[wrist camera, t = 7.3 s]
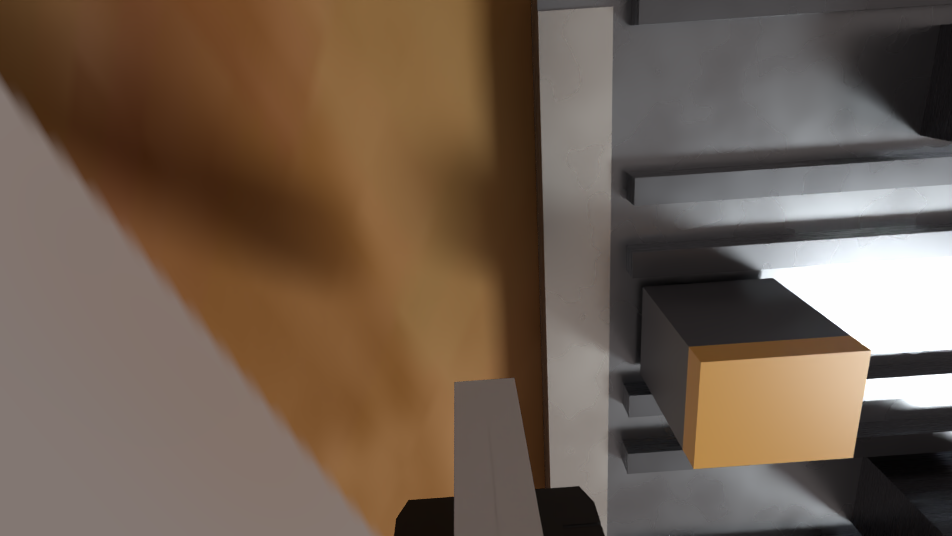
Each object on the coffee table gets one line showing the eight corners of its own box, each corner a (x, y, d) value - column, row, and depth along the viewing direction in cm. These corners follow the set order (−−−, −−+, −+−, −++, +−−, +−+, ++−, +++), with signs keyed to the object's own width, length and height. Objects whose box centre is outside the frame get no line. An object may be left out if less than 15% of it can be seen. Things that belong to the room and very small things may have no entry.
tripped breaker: (642, 286, 19) (700, 362, 14) (772, 277, 19) (871, 350, 14) (640, 373, 20) (693, 469, 15) (763, 364, 20) (853, 457, 15)
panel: (530, -5, 18) (567, -30, 12) (1153, -46, 18) (1499, -91, 12) (546, 545, 25) (575, 704, 19) (998, 512, 25) (1169, 661, 19)
